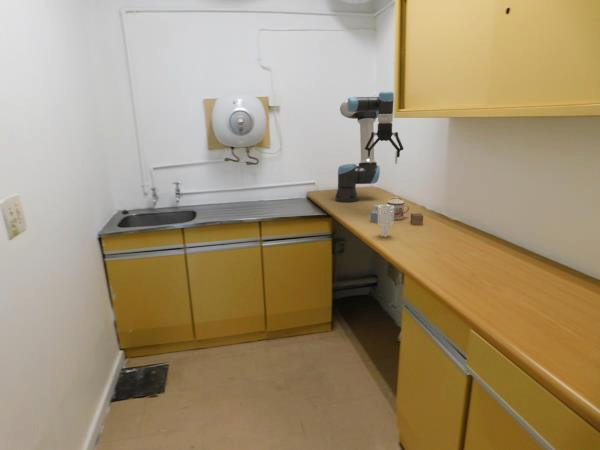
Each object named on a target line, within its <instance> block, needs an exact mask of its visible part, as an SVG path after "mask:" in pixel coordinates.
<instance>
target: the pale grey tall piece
mask: <svg viewBox="0 0 600 450" xmlns="http://www.w3.org/2000/svg"><path fill="white" fill-rule="evenodd" d="M382 207H385V208H382ZM381 210H383V211H381ZM391 210H392V211H391ZM394 221H395V220H394V206H392V205H387V204H382V205H379V206H378V223H377V225H378V226H380V227H381V237H383V236H384V237H383V238H388V237H389V227H393V226H394ZM387 236H388V237H387Z"/></svg>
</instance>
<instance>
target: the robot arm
mask: <svg viewBox="0 0 600 450" xmlns="http://www.w3.org/2000/svg"><path fill="white" fill-rule="evenodd" d="M394 95H395V94H394V91H380V92H379V93H378V96H366V97H365V96H364V97H363V96H360V97H359V96H353V97H348V98H347V100H346V101H343V102H342V103H341V104H340V106H339V111H340V114H341V115H342V116H343V117H345V118H347V119H353V120H354V119H355V120H357V122H358V124H359V129H360V130H359V134H360V135H359V136H360V139H359V140H360V141H359V143H360V161H359V162H358V165H357V164H356V163H346V164H342V165H340V166H338V169H337V191H336V193H335V196H334V200H335V201H336V202H339V203H354V202H357V201H359V195H358V191H357V189H356V187H357V185H372V184H377V182H378V181H379V178H380V174H381V173H380V172H381V168H380V165H378V164H377V163H378V162H377V161H376V160H375V146H376V145H377V144H378V143H379V141H381V142H383V141H385V142H387V141H389V143H391V145H392V146H393V147H394V148H395V156H394V158H395V159H394V164H395V165H397V164H398V158H400V156H401V155H400V153H401V151H403V150H404V146H403V144H402V141H401V139H400V138H399V132H397V131H396V132H393V123H392V122H394V121H393V119H394V102H395V101H394V100H395V97H394ZM376 120H377V122H378V124H377V132H375V131H374V123H375V122H376ZM376 136H377V138H376V139H375V137H376ZM393 136H394V137H395V139H396V142H397V143H396V142H395V141H394V140H393V138H392V137H393ZM374 139H375V140H374ZM397 144H398V145H397Z"/></svg>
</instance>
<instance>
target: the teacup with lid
mask: <svg viewBox="0 0 600 450" xmlns="http://www.w3.org/2000/svg"><path fill="white" fill-rule="evenodd" d="M386 203H387V204H386V205H392V206H394V220H393V221H395V220H396V221H398V220H399V221H400V220H401V221H402V220H403V219H404V215H405V214H407V213H408V212H410V205H408V204H405V203H406V202H405V201H404V200H403V199H400V198H399V197H398V196H394V197H393V198H391V199H389V200H387V202H386ZM405 207H407V209H406V211H405ZM391 211H392V210H391Z"/></svg>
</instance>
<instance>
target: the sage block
mask: <svg viewBox="0 0 600 450" xmlns="http://www.w3.org/2000/svg"><path fill="white" fill-rule="evenodd" d="M379 205H383V204H372V212H373V211H378V206H379ZM382 208H386V207H382ZM381 211H383V210H381Z"/></svg>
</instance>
